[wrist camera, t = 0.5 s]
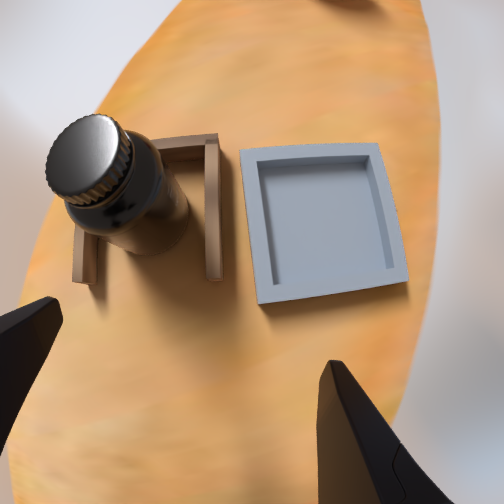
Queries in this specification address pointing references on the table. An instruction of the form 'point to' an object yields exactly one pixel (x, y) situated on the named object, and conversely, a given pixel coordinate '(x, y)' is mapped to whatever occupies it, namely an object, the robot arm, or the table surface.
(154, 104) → the table surface
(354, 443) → the robot arm
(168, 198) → the supplement bottle
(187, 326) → the table surface
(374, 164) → the tray
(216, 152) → the cradle
